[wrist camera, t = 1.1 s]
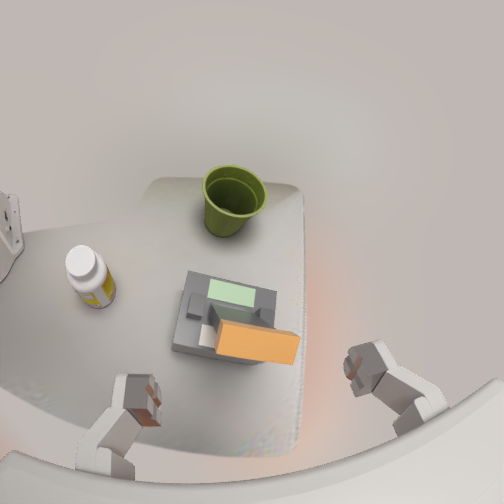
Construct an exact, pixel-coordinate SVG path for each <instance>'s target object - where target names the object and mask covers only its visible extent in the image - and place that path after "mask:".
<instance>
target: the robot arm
mask: <svg viewBox="0 0 504 504" xmlns="http://www.w3.org/2000/svg"><path fill="white" fill-rule="evenodd" d="M18 241H19V242H18ZM17 242H18V243H17ZM23 249H24V242H23V235H22V228H21V219H20V209H19V199H18V197H17V196H16V195H13V194H7V195H5V194H4V193H3V192H1V191H0V282H1V281H2V280H3V279H4V278H5V277H6V275H7V274H8V272H9V271H10V269H11V267H12V264H13V262H14V260H15V259H16V258H17V257H18V256H19V255H20V253H21V252H22V251H23ZM348 354H349V355H348V356H347V358H345V360H344V363H343V364H344V372H345V375H346V377H347V378H348V379H349V380H351V385H350V386H351V389H352V390H353V393H354V395H355V397H359V396H362V395H365V394H369V393H371V392H372V394H373V395H374V396H376V397H377V398H378V399H380V400H381V401H382V402H383V403H385V404H386V405H387V406H388V407H390V408H391V409H392V410H394V411H395V412H396V413H398V414H399V415H400V416H399V417H398V418H397V419H396V420H395V421H394V423H393V427H394V429H395V432H396V434H397V436H398V437H397V438H394V439H392V440H390V441H388V442H385V443H383V444H381V445H378V446H376V447H373V448H371V449H368V450H366V451H363V452H360V453H358V454H355V455H352V456H349V457H346V458H343V459H340V460H337V461H334V462H331V463H327V464H324V465H320V466H316V467H313V468H309V469H305V470H301V471H296V472H292V473H287V474H282V475H277V476H271V477H265V478H259V479H251V480H244V481H233V482H221V483H200V484H174V483H153V482H141V481H135V467H134V465H133V464H132V463H130V462H129V461H127V460H125V459H124V456H125V454H126V453H127V451H128V450H129V448H130V447H131V445H132V443H133V442H134V440H135V439H136V437H137V436H138V434H139V432H140V431H141V429H142V428H143V427H142V426H161V412H160V410H159V409H158V408H159V406H160V405H161V404H162V397H161V390H160V387H159V385H158V383H156V382H155V378H154V376H153V374H117V375H116V377H115V382H114V388H113V395H112V402H111V408H107V409H106V410H105V411H104V412H103V414H102V415H101V416H100V417H99V418H98V419H97V421H96V422H95V423H94V424H93V425H92V426H91V428H90V429H89V430H88V431H87V433H86V434H85V435H84V436H83V437H82V438H81V439H80V441H79V442H78V447H77V457H76V467H75V470H73V469H70V468H66V467H62V466H59V465H56V464H52V463H49V462H46V461H43V460H40V459H38V458H35V457H32V456H29V455H27V454H24V453H22V452H19V451H16V450H13V451H11V452H9V453H8V454H7V455H6V456H4V457H3V458H2V459H1V460H0V504H504V381H503V380H500V379H498V378H494V379H492V380H490V381H489V382H488V383H486V384H485V385H483V386H482V387H481V388H479V389H478V390H477V391H475V392H474V393H473V394H471V395H470V396H468V397H467V398H465V399H464V400H462V401H461V402H460V403H458V404H457V405H455V406H453V407H452V408H450V407H449V406H448V404H447V402H446V400H445V398H444V397H443V395H442V393H441V391H440V390H439V388H438V387H437V386H435V385H433V384H431V383H430V382H428V381H426V380H424V379H423V378H421V377H419V376H418V375H416V374H414V373H412V372H411V371H409V370H407V369H405V368H404V367H402V366H398V365H397V364H396V362H395V360H394V358H393V357H392V355H391V353H390V352H389V350H388V349H387V347H386V345H385V344H384V342H383V341H382V340H376V341H373V342H368V343H365V344H361V345H358V346H354V347H351V348H350V349H349V350H348Z"/></svg>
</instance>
